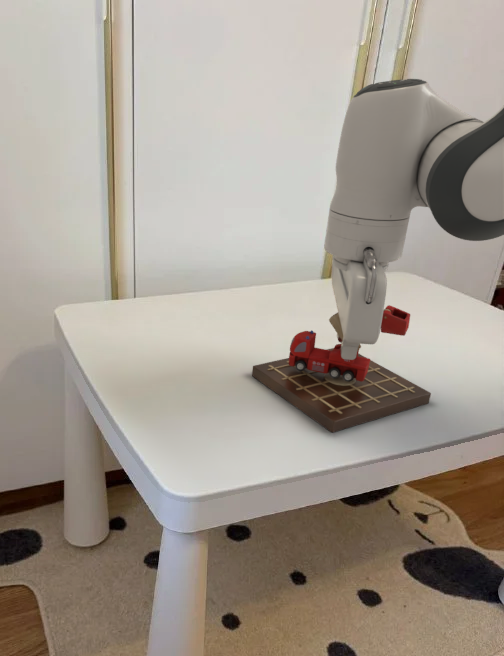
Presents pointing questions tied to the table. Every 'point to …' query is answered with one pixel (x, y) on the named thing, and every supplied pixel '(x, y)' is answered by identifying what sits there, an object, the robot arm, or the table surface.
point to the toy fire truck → (331, 361)
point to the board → (341, 393)
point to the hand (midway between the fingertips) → (345, 348)
